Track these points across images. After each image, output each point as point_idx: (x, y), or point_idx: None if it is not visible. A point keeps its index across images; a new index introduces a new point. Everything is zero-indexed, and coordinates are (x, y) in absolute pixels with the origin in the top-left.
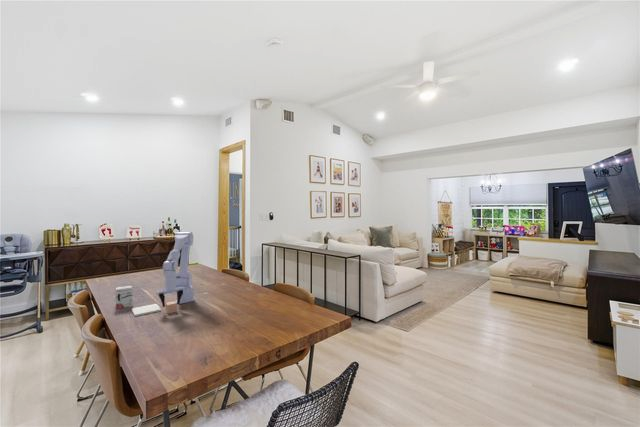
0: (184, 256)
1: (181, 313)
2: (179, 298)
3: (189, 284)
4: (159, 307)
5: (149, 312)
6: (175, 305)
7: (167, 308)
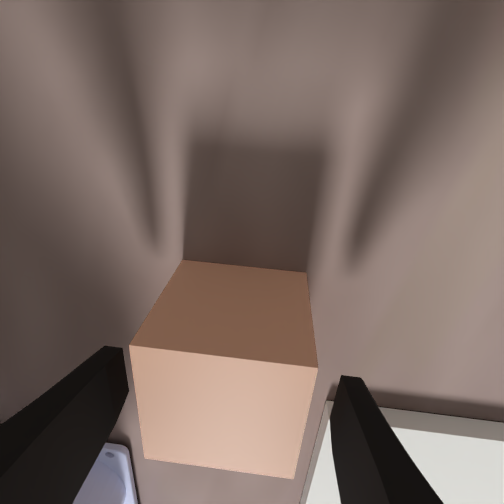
0: None
1: (146, 128)
2: (19, 433)
3: None
4: (316, 469)
5: (453, 426)
6: (173, 320)
7: (311, 320)
